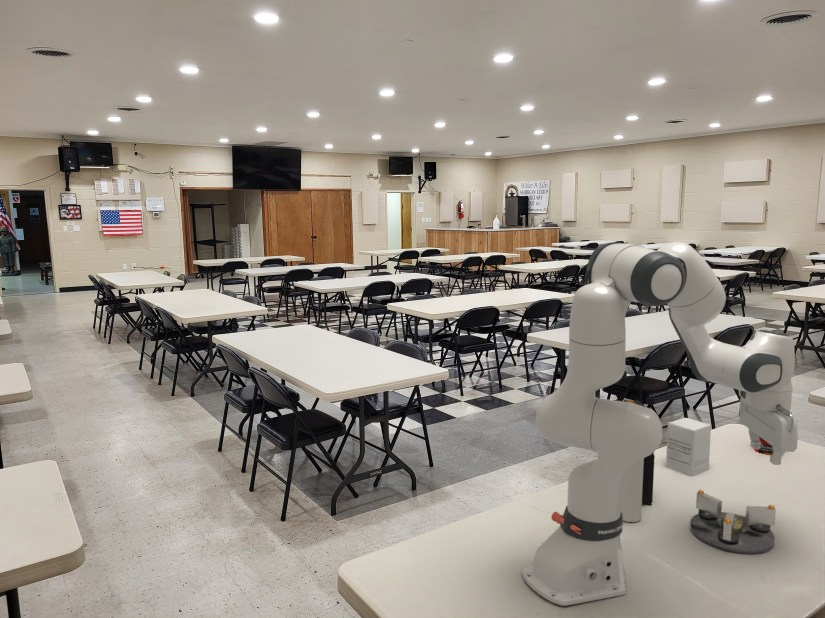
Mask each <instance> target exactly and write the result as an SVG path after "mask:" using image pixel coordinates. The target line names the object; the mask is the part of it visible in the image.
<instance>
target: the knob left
mask: <svg viewBox="0 0 825 618" xmlns="http://www.w3.org/2000/svg"><path fill="white" fill-rule="evenodd" d="M695 500H696V501H695V508H696V509H698V513H697V514H698V515H699V517H700V518H702V519H705V520H709V521H715V520H717V519H718V517H720V516H721V512H723V511H722V510H723V509H722V508H723V500H721V499H719V498H716V497H715V496H713V495H710V494H708V493H706V492H705V491H704V490H702V489H698V490H697V492H696V499H695Z"/></svg>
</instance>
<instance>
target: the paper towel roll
mask: <svg viewBox="0 0 825 618" xmlns="http://www.w3.org/2000/svg"><path fill="white" fill-rule="evenodd" d="M643 465H644V458H643V459H641V460H640V461H638V462H637V463H636V464H635V465H634V466H633V467H632V468H631V469H630V471H629V472H628V474H627V476H626V478H625V481H624V485H623V491H622V500H621V513H622V515H623V522H628V523H637V522H639V521H641V519H642V509H643V507H642V504H643V503H642V487H643Z"/></svg>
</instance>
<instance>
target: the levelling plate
mask: <svg viewBox="0 0 825 618" xmlns="http://www.w3.org/2000/svg"><path fill="white" fill-rule="evenodd" d="M734 514H735V522H734V531H733V532H735V533H737V534H738V535H739V542H738V543H737V544H728V543H724V542H722V541H720V540H719V539H718V531H719V530H723V528H724V521H725V518H726V515H727V512H726V511H721V516H720V517H718V519H717V520H715V521H709V520H705V519H702V518H700V517H699V515H698V513H697V514H696V515H693V516H692V517H691V519H690V521H689V522H690V524H689V526H690V528H689V530H690V531H691V532H690V533H691V534H692V535H693V536H694V537H695V538H696V539H698V540H699V541H700V542H702V543H703V544H705V545H708V546H710V547H713V548H714V549H717V550H719V551H724V552H728V553H731V554H732V553H733V554H740V555H761V554H766V553H768V552H771V550H772V549H773V548H774V547H775V534H774V533H773V531H771V529H770V532H768V533H759V532H756V531H753V530H752V529H750V528H749V525H748V524H747V523H746V522H745V520H746V516H745V515H740V514H736V513H734Z"/></svg>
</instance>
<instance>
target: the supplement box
mask: <svg viewBox="0 0 825 618" xmlns="http://www.w3.org/2000/svg"><path fill="white" fill-rule="evenodd" d="M711 428H712V425H711V424H710V423H705V422H701V421H698V420H695V419H693V418H689V417H682V418H679V419H677V420H674V421H670V422H667V437H666V440H667V441H666V453H665V454H666V455H665V456H666V458H665V460H666V461H665V468H667V469H669V470H672V471H675V472H676V473H677V472H678V473H680V474H682V475H686V476H688V477H695V476H697V475H699V474H702V473H705V472H706V471H709V469H710V451H711V433H712V431H711Z"/></svg>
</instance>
